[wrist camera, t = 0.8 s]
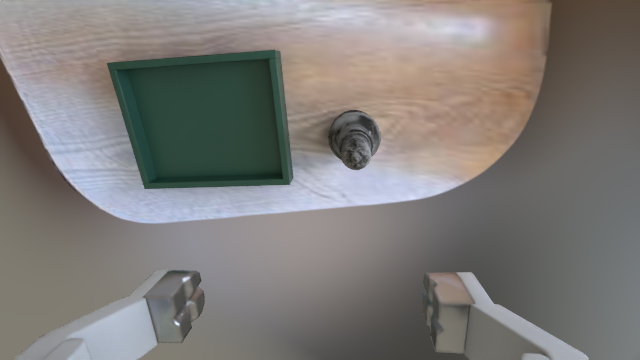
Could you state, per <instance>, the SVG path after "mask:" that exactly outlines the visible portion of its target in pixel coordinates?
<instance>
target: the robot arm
mask: <svg viewBox="0 0 640 360" xmlns="http://www.w3.org/2000/svg"><path fill="white" fill-rule="evenodd" d="M200 282H201V278H200V273H199V272H197V271H188V270H158V271H155V272H154V273H153V274H152V275H151V276H150V277H148V278H147V279H146V280H145V281H144V282H143V283H142V284H141V285H140V286H139V287H138V288H137V289H136V290H135V291H134V292H133V293H132V294H131V295H129V297H127V298H121V299H119V300H117V301H115V302H113V303H111V304H108V305H106V306H104V307H102V308H100V309H98V310H96V311H93V312H91V313H89V314H87V315H85V316H83V317H81V318H78V319H76V320H74V321H72V322H70V323H68V324H66V325H63V326H61V327H59V328H57V329H55V330H53V331H50V332H48V333H46V334H44V335H42V336H41V337H39V338H38V339H37V340H36V341H34V342H33V343H32V344H31V345H29V346H28V347H27V348H26V349H25V350H24V351H22V352H21V353H20V354H18V355H17V356H16V357H15V358H13V359H12V360H138V359H139V358H141V357H142V356H143V355H145V354H146V353H147V352H148V351H150V350H151V349H152V348H153V347H155V346H156V345H157V344H158V343H182V342H183V341H184V339H185V337H186V336H187V334H188V333H189V331H190V330H191V328H192V326H191V322H193V321H194V320H196V319H197V318H198V317H199V316H200V314H201V312H202V310H203V306H204V291H203V290H202V289H201V288H200V287H199V284H200ZM424 286H425V289H426V291H425V293H424V294H423V302H422V303H423V313H424V317H425V321H426V323H427V325H429V326H430V336H431V339H432V342H433V345H434V347H435V350H436V352H449V353H464V354H465V356H466V357H467V358H468V359H469V360H589V358H588V357H587V356H586V355H585V354H584V353H582V352H580V351H578V350H576V349H575V348H573V347H571V346H570V345H568V344H566V343H564V342H562V341H561V340H559V339H558V338H556V337H554V336H552V335H551V334H549V333H547V332H545V331H544V330H542V329H540V328H539V327H537V326H535V325H533V324H532V323H530V322H528V321H526V320H525V319H523V318H521V317H520V316H518V315H516V314H514V313H513V312H511V311H509V310H507V309H506V308H504V307H502V306H500V305H495V304H493V302H492V301H491V299H490V298H489V296H488V295H487V293H486V292H485V291H484V289H483V288H482V286H481V285H480V283H479V282H478V280H477V279H476V277H475V276H474V275H473V273H471V272H459V273H425V275H424Z"/></svg>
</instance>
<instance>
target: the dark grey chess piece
mask: <svg viewBox="0 0 640 360" xmlns="http://www.w3.org/2000/svg"><path fill="white" fill-rule="evenodd" d="M328 138H329V145H330V147H331V150H332V151H333V153H334V154H335V155H336V156H337V157H338V158H339V159H341V160H342V161H343V163H344V164H345V166H347V167H348V168H350V169H353V170H359V169H362V168H364V167H365V166H366V165H367V164H368V163H369V161H370V159H371V157H372V156H373V155H374V154H375V152H376V151H377V149H378V147H379V145H380V140H381V134H380V130H379V127H378V125H377V123H376V122H375V120H374V119H372V118H371V117H370V116H368V115H367V114H366V113H364V112H362V111H358V110H351V111H347V112H345V113H343V114H342V115H340V116H339V117H338V118H337V119H336V121H335V122H334V123H333V124H332V126H331V129H330V131H329V137H328Z"/></svg>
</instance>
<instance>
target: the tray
mask: <svg viewBox="0 0 640 360" xmlns="http://www.w3.org/2000/svg"><path fill="white" fill-rule="evenodd" d="M107 65H108V68H109V70H110V75H111V78H112V81H113V85H114V88H115V91H116V95H117V98H118V101H119V105H120V108H121V111H122V115H123V118H124V121H125V125H126V128H127V131H128V135H129V138H130V141H131V145H132V148H133V151H134V155H135V158H136V161H137V165H138V168H139V171H140V175H141V178H142V181H143V185H144V188H145V189H158V188H192V187H226V186H260V185H290V183H291V181H292V179H293V171H292V161H291V151H290V142H289V132H288V123H287V113H286V104H285V94H284V85H283V75H282V66H281V56H280V51H277V50H268V51H255V52H242V53H229V54H216V55H204V56H191V57H178V58H165V59H152V60H139V61H126V62H113V63H107Z"/></svg>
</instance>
